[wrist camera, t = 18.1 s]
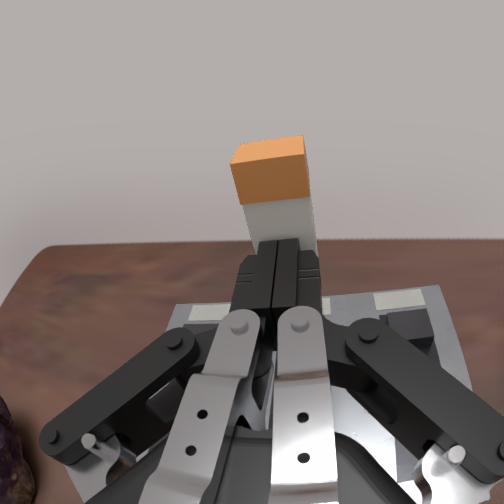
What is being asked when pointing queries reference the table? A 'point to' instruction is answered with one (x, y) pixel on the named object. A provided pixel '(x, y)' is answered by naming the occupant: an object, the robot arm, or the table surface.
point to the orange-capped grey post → (275, 191)
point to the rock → (13, 464)
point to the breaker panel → (343, 404)
